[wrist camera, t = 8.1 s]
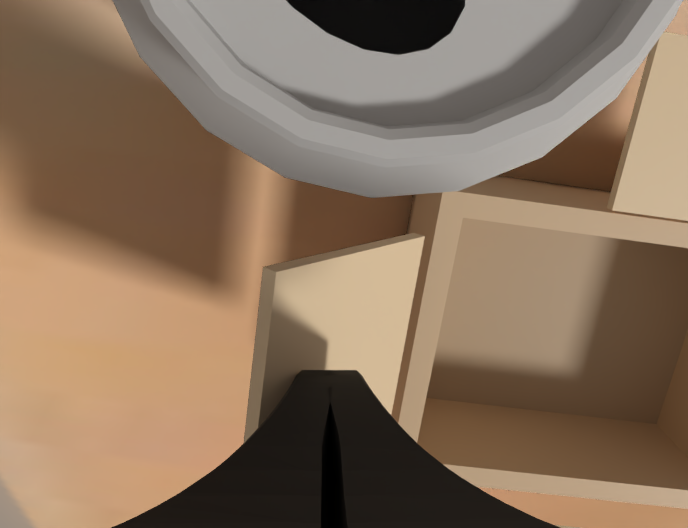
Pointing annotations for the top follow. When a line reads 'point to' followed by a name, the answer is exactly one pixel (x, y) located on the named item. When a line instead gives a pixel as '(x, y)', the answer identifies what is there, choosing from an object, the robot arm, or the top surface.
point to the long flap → (334, 319)
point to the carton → (561, 320)
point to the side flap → (566, 526)
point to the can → (394, 80)
